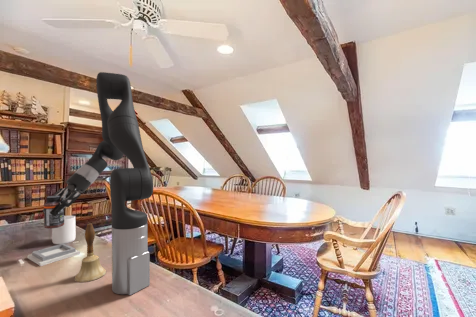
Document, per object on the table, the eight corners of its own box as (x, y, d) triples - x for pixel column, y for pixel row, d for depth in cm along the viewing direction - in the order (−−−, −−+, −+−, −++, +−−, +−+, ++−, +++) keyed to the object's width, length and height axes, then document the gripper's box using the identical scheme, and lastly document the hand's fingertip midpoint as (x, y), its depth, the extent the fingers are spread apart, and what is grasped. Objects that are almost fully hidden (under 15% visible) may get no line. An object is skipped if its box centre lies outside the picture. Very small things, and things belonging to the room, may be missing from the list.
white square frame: (79, 254, 90) (79, 248, 90) (40, 266, 80) (40, 259, 80) (65, 247, 97) (65, 242, 97) (27, 258, 87) (27, 252, 87)
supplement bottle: (46, 225, 90) (46, 195, 90) (66, 223, 93) (65, 194, 93) (41, 230, 85) (41, 198, 85) (62, 227, 87) (61, 196, 87)
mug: (45, 240, 105) (45, 217, 105) (66, 235, 112) (66, 213, 112) (57, 246, 99) (56, 221, 99) (79, 240, 106) (78, 216, 106)
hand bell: (69, 283, 69) (68, 228, 69) (81, 270, 77) (81, 221, 77) (100, 280, 71) (100, 226, 71) (109, 268, 79) (109, 219, 79)
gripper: (67, 171, 99) (31, 205, 89) (84, 172, 91) (47, 210, 81) (82, 183, 103) (49, 216, 93) (99, 185, 95) (65, 221, 86)
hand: (48, 213), depth 87 cm, fingers closed on supplement bottle, 6 cm apart
